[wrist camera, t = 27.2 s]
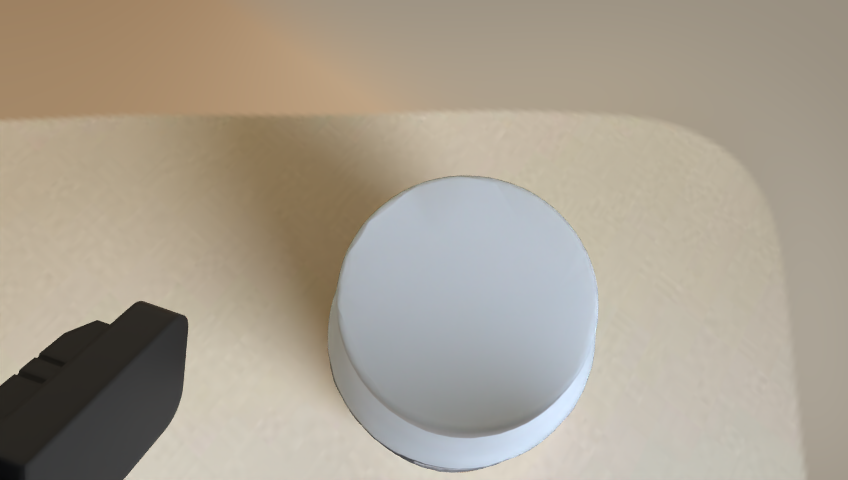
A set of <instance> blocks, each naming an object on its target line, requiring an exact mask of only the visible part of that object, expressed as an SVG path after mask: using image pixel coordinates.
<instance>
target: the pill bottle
mask: <svg viewBox="0 0 848 480" xmlns="http://www.w3.org/2000/svg"><path fill="white" fill-rule="evenodd" d="M597 322H598V288H597V282H596V277H595V273H594V269H593V266H592V264H591V261H590V258H589V256H588V253H587V251H586V249H585V247H584V246H583V244H582V242H581V240H580V238H579V237H578V235H577V234H576V232H575V231H574V230H573V228H572V227H571V226H570V224H569V223H568V222H567V221H566V220H565V219H564V218H563V217H562V216H561V214H560V213H558V212H557V211H556V210H555V209H554V208H553V207H552V206H551V205H549V204H548V203H547V202H546V201H544V200H543V199H541V198H540V197H538V196H536V195H535V194H533V193H532V192H530V191H528V190H526V189H524V188H522V187H519V186H517V185H514V184H512V183H509V182H505V181H502V180H498V179H494V178H489V177H481V176H450V177H443V178H438V179H434V180H430V181H426V182H423V183H420V184H418V185H415V186H413V187H411V188H409V189H407V190H405V191H403V192H401V193H399V194H398V195H396V196H395V197H393V198H392V199H390V200H389V201H387V202H386V203H385V204H383V205H382V206H381V207H380V208H379V209H378V210H376V211H375V212H374V213H373V214H372V215H371V216H370V217H369V218H368V220H367V221H366V222H365V223H364V224H363V225H362V227H361V228H360V230H359V231H358V233H357V234H356V236H355V238H354V239H353V241H352V243H351V244H350V246H349V248H348V250H347V253H346V255H345V257H344V260H343V263H342V267H341V270H340V274H339V279H338V284H337V290H336V293H335V296H334V299H333V302H332V306H331V311H330V316H329V324H328V353H329V359H330V365H331V371H332V375H333V379H334V382H335V385H336V387H337V389H338V391H339V393H340V394H341V396H342V398H343V400H344V402H345V404H346V405H347V407H348V408H349V410H350V412H351V413H352V415H353V416H354V417H355V419H356V420H357V421H358V422H359V423H360V424H361V425H362V426H363V427H364V429H365V430H366V431H367V432H368V433H369V434H370V435H371V436H372V437H373V438H374V439H376V440H377V441H378V442H379V443H381V444H382V445H383V446H384V447H386V448H387V449H389V450H390V451H392V452H393V453H394V454H396V455H398V456H400V457H401V458H403V459H405V460H407V461H409V462H411V463H413V464H416V465H418V466H421V467H424V468H427V469H432V470H436V471H439V472H468V471H473V470H478V469H483V468H486V467H489V466H493V465H496V464H498V463H500V462H502V461H505V460H508V459H511V458H514V457H516V456H518V455H521V454H523V453H525V452H527V451H529V450H530V449H532V448H533V447H535V446H536V445H538V444H539V443H541V442H542V441H543V440H544V439H545V438H547V437H548V436H549V435H550V434H551V433H552V432H553V431H554V430H555V429H556V428H557V427H558V426H559V425H560V424H561V423H562V422H563V420H564V419H565V418H566V417H567V416H568V415H569V414H570V412H571V411H572V410H573V408H574V407H575V405H576V403H577V401H578V399H579V398H580V396H581V394H582V392H583V390H584V387H585V384H586V382H587V380H588V376H589V373H590V370H591V368H592V363H593V358H594V350H595V334H596V328H597Z"/></svg>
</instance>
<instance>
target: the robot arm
mask: <svg viewBox="0 0 848 480" xmlns="http://www.w3.org/2000/svg"><path fill="white" fill-rule="evenodd" d="M187 336H188V320H187V318H186V316H184V315H181V314H179V313H176V312H173V311H170V310H167V309H164V308H161V307H158V306H155V305H153V304H150V303H147V302H144V301H139V302H136V303H135V304H133V305H132V306H131V307H130V308H128V309H127V310H126V311H125V312H124V313H123V314H122V315H120V316H119V317H118V318H117V319H116V320H115V321H114V322H112V323H111V324H107V323H104V322H101V321H98V320H96V321H94V322H91V323H89V324H86V325H84V326H81V327H79V328H76V329H74V330H71V331H69V332H66V333H64V334H63V335H62V336H60V337H59V338H58V339H57V340H55V341H54V342H53V343H52V344H51V345H49V346H48V347H47V348H46V349H44V350H43V351H42V352H41V353H40V354H39V357H38V358H34V359H32V360H31V361H30V362H29V363H27V364H26V365H25V366H24V367H23V368H21V369H20V370H19V373H18V375H15V374H14V375H13V376H12V377H10V378H9V379H8V380H7V381H5V382H4V383H3V384H2V385H1V386H0V480H123V479H124V478H125V477H126V476H127V475H128V473H129V472H130V471H131V470H132V469H133V468H134V466H135V465H136V464H137V463H138V462H139V460H140V459H141V458H142V457H143V456H144V454H145V453H146V452H147V451H148V450H149V448H150V447H151V446H152V445H153V444H154V442H155V441H156V440H157V439H158V438H159V437H160V435H161V434H162V433H163V432H164V431H165V429H166V428H167V427H168V425H169V424H170V422H171V420H172V419H173V417H174V415H175V413H176V411H177V408H178V406H179V403H180V400H181V396H182V391H183V381H184V370H185V359H186V347H187Z"/></svg>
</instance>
